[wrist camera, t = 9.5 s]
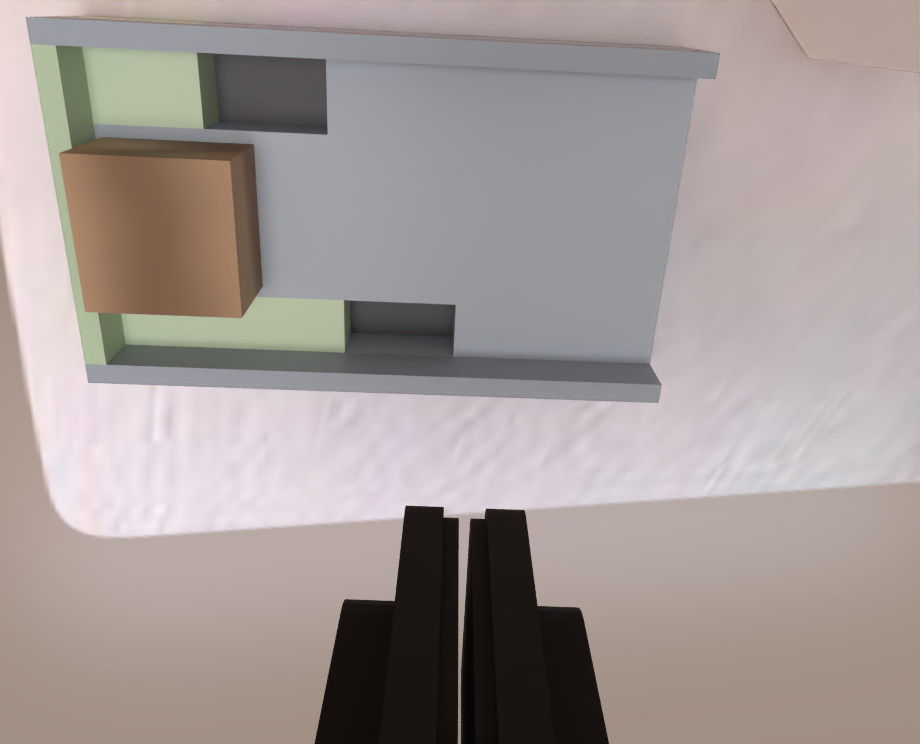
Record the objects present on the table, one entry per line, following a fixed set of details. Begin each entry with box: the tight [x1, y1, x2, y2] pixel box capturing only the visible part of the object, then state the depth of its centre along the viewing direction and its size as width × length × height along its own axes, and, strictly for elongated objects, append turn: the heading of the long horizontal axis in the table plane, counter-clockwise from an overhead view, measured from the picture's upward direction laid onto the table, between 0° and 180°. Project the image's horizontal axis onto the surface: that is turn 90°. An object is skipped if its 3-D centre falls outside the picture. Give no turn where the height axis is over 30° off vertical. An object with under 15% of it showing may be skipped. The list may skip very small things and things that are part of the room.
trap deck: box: [26, 16, 720, 403], centre depth 30 cm, size 22×13×4 cm, turn 87°
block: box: [59, 137, 263, 318], centre depth 28 cm, size 6×6×4 cm
